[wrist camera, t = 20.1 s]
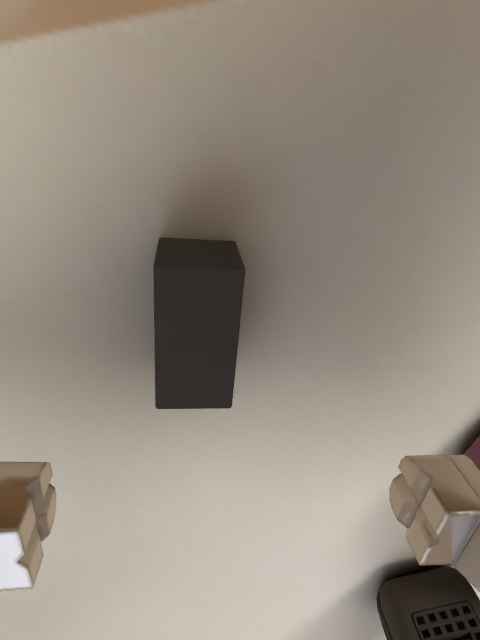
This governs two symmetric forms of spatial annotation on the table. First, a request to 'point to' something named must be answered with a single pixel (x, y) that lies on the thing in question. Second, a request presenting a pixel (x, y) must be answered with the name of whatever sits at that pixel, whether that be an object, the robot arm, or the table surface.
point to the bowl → (474, 452)
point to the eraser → (196, 322)
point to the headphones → (429, 607)
